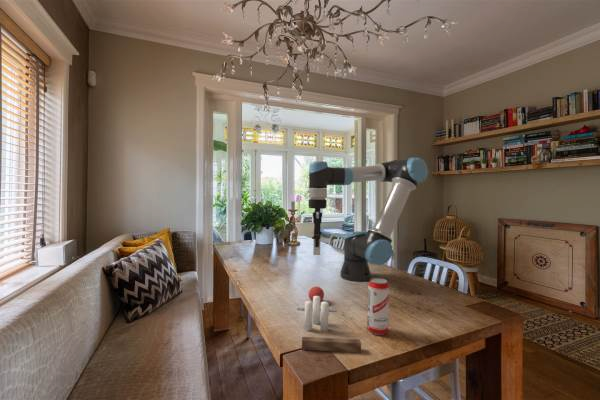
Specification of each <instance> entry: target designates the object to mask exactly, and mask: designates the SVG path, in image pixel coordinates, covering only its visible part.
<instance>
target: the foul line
mask: <svg viewBox="0 0 600 400" xmlns="http://www.w3.org/2000/svg"><path fill="white" fill-rule="evenodd" d="M296 310H297V311H305V307H297V308H296ZM320 312H321V307H320ZM329 312H337V311H336V308H329Z"/></svg>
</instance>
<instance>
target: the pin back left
mask: <svg viewBox="0 0 600 400" xmlns="http://www.w3.org/2000/svg"><path fill="white" fill-rule="evenodd" d="M304 308H305V310H304V330H305V331H306V332H311V331H312V330H313V302H312V301H311V300H305V301H304Z"/></svg>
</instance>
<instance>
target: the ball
mask: <svg viewBox="0 0 600 400" xmlns="http://www.w3.org/2000/svg"><path fill="white" fill-rule="evenodd" d="M314 296H320V302H323V300H324V297H325V294H324V290H323V288H321V287H319V286H318V285H317V286H316V285H315V286H312V287H310V289H309V290H308V298H309V301H312V302H313V297H314Z"/></svg>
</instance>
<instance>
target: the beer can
mask: <svg viewBox="0 0 600 400" xmlns="http://www.w3.org/2000/svg"><path fill="white" fill-rule="evenodd" d="M389 299H390V286H389V284H388V280H387V279H385V278H381V277H373V278H372V277H371V279H370V281H369V283H368V287H367V312H366V313H367V317H366V318H367V319H366V320H367V321H366V322H367V323H366V328H367V330H368V331H369V333H371V334H372V335H376V336H384V335H385V334H386V333H388V331H389V307H390V306H389V303H390V300H389Z"/></svg>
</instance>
